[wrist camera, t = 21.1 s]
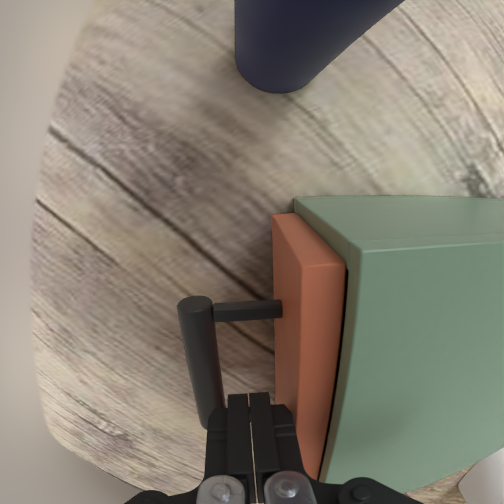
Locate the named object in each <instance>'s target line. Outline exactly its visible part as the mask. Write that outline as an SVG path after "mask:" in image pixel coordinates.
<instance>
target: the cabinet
mask: <svg viewBox="0 0 504 504" xmlns="http://www.w3.org/2000/svg"><path fill="white" fill-rule="evenodd" d="M294 213H297V214H298V215H299V216H300V217H301V218H303V219H304V220H305V221H306V222H307V223H308V224H309V226H310V227H311V228H312V229H313V230H314V231H315V232H316V233H317V234H318V235H319V236H320V237H321V238H322V239H323V240H324V241H325V242H326V243H327V244H328V245H329V246H330V247H331V248H332V249H333V250H334V251H335V252H336V253H337V254H338V255H339V256H340V257H341V258H342V259H343V260H344V261H345V263H346V268H347V269H348V270H349V277H348V291H347V303H346V315H345V325H344V334H343V343H342V352H341V360H340V367H339V375H338V382H337V388H336V395H335V401H334V407H333V413H332V419H331V425H330V430H329V435H328V440H327V437H326V439H325V444H324V450H323V455H322V460H321V464H320V469H319V474H318V478H317V481H319V482H322V483H331V484H344V483H345V482H347V481H348V480H350V479H353V478H356V477H368V478H371V479H374V480H376V481H378V482H380V483H382V484H383V485H385V486H387V487H389V488H391V489H393V490H395V491H397V492H400V493H402V494H404V493H407V492H410V491H413V490H415V489H418V488H421V487H423V486H426V485H428V484H431V483H433V482H436V481H438V480H441V479H443V478H445V477H447V476H450V475H452V474H454V473H456V472H458V471H461V470H463V469H465V468H467V467H469V466H471V465H473V464H475V463H477V462H479V461H480V460H482V459H484V458H486V457H488V456H490V455H492V454H493V453H495V452H497V451H499V450H500V449H502V448H504V199H497V198H478V197H451V196H390V195H380V196H316V197H295V198H294Z"/></svg>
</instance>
